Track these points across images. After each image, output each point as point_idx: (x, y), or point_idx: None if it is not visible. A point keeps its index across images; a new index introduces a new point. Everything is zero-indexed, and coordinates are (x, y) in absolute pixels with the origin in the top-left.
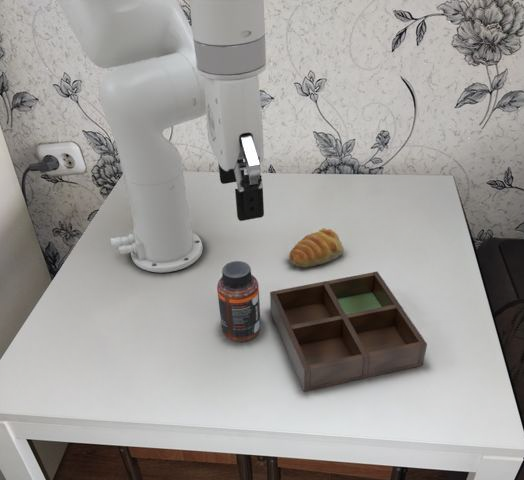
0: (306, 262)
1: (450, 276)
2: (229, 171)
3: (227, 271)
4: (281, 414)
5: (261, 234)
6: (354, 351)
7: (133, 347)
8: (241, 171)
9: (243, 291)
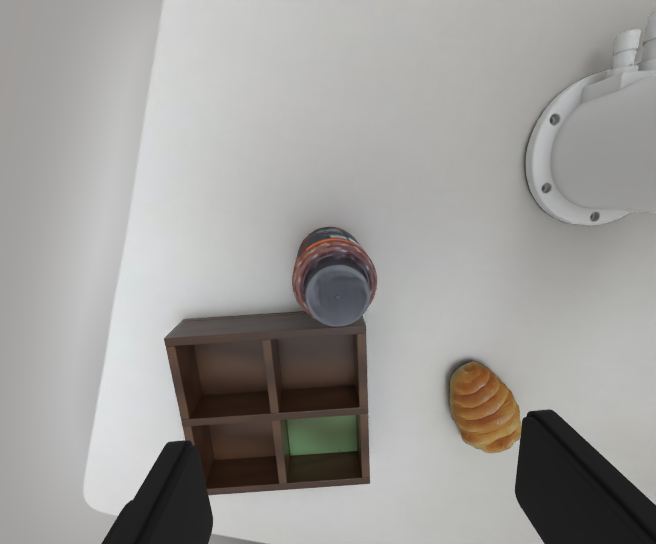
0: (452, 387)
1: (368, 538)
2: (560, 499)
3: (331, 276)
4: (144, 281)
5: (571, 331)
6: (221, 404)
7: (329, 60)
8: (546, 536)
9: (299, 292)
